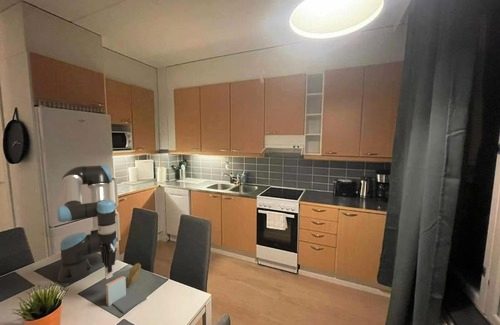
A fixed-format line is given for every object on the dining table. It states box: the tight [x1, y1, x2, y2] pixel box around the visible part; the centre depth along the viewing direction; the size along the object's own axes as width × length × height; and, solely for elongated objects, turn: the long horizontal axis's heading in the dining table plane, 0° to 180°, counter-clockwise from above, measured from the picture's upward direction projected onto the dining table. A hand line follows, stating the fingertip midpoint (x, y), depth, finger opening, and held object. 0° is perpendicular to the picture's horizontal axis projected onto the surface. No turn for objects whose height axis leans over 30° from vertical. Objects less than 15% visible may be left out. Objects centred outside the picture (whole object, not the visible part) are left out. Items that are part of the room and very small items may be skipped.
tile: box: [105, 275, 127, 307], centre depth 106 cm, size 2×8×10 cm, turn 147°
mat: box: [112, 290, 147, 314], centre depth 105 cm, size 10×11×1 cm
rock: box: [126, 262, 142, 289], centre depth 120 cm, size 11×9×10 cm
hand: (108, 277), depth 109 cm, fingers closed
